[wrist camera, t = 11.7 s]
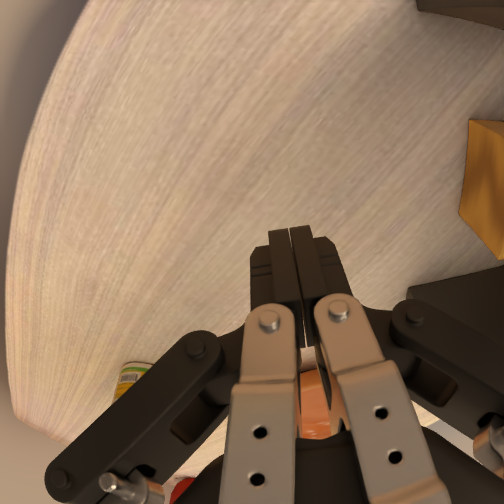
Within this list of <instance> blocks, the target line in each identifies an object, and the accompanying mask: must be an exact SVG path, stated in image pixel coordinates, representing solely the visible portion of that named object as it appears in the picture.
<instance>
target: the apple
mask: <svg viewBox="0 0 504 504" xmlns="http://www.w3.org/2000/svg"><path fill="white" fill-rule="evenodd" d="M194 479H195V478H186V479H184V480H182V481H180V482H179V483H177V485H176V486H175V488H174V490H173V491H172V493H171V498H170V503H169V504H172V503H173V502H174V501H175V500H176V499H177V498H178V497H179V496H180V495H181V494H182V493H183V492H184V490H185V489H186V488H187V487H188V486H189V485H190V484H191V483H192V482H193V481H194Z"/></svg>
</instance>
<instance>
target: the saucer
mask: <svg viewBox="0 0 504 504" xmlns="http://www.w3.org/2000/svg"><path fill="white" fill-rule="evenodd" d="M301 404H302V433H303V438H307V439H325V438H328V437H330V436H332V435H331V430H330V422H329V415H328V411H327V406H326V402H325V398H324V394H323V390H322V386H321V382H320V378H319V374H318V370H317V369H315V370H310V371H307V372H303V373H301Z"/></svg>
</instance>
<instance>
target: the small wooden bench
mask: <svg viewBox="0 0 504 504" xmlns="http://www.w3.org/2000/svg"><path fill="white" fill-rule="evenodd" d="M416 1H417V7H418V10H419V11H423V12H430V13H436V14H441V15H447V16H452V17H456V18H461V19H465V20H469V21H474V22H477V23H481V24H485V25H488V26H492V27H495V28H498V29H502V30H504V0H416ZM406 299H418V300H422V301H424V302H426V303H428V304H430V305H432V306H434V307H436V308H437V309H439V310H441V311H443V312H445V313H446V314H448V315H450V316H452V317H454V318H455V319H457V320H459V321H461V322H463V323H464V324H466V325H468V326H470V327H471V328H473V329H475V330H477V331H478V332H480V333H482V334H484V335H485V336H487V337H489V338H491V339H492V340H494V341H496V342H497V343H499V344H501V345H503V346H504V266H501V267H497V268H493V269H489V270H485V271H481V272H477V273H473V274H469V275H465V276H460V277H456V278H452V279H447V280H443V281H438V282H433V283H429V284H424V285H419V286H414V287H409V288H408V292H407V297H406Z"/></svg>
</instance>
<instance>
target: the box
mask: <svg viewBox="0 0 504 504" xmlns="http://www.w3.org/2000/svg"><path fill="white" fill-rule="evenodd" d="M459 215H460V216H461V217H462V219H463V220H464V221H465V222H466V223H467V224H468V225H469V226H470V227H471V228H472V230H473V231H474V232H475V233H476V234H477V235H478V236H479V237H480V239H481V240H482V241H483V242H484V243H485V244H486V246H487V247H488V248H489V249H490V250H491V252H492V253H493V254H494V255H495V257H496V258H497V259H498V260H502V259H504V122H501V121H489V120H474V119H470V120H469V135H468V148H467V159H466V168H465V176H464V183H463V190H462V197H461V203H460V208H459Z"/></svg>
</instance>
